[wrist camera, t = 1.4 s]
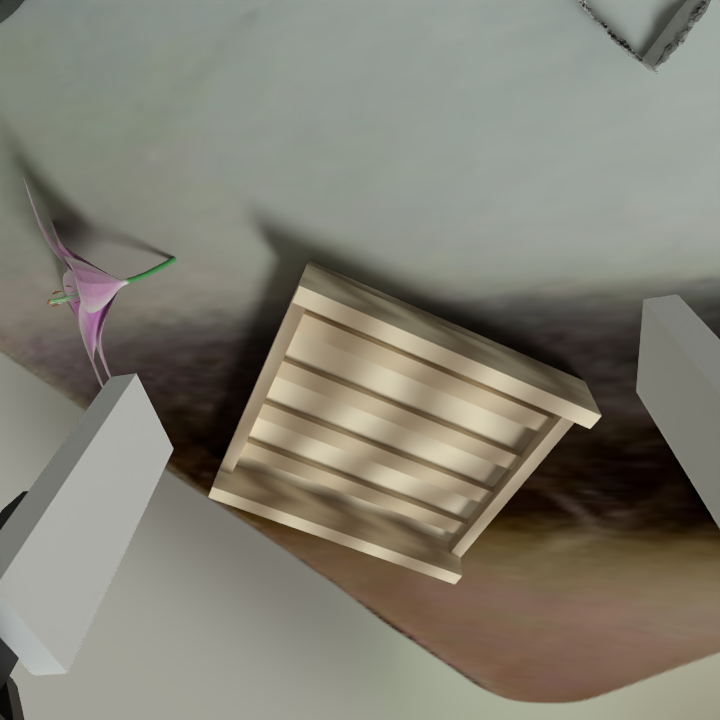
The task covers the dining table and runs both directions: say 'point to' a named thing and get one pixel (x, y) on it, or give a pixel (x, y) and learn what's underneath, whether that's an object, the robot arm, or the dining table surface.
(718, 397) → the robot arm
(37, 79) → the dining table surface
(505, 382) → the drying rack
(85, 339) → the lily
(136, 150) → the dining table surface
